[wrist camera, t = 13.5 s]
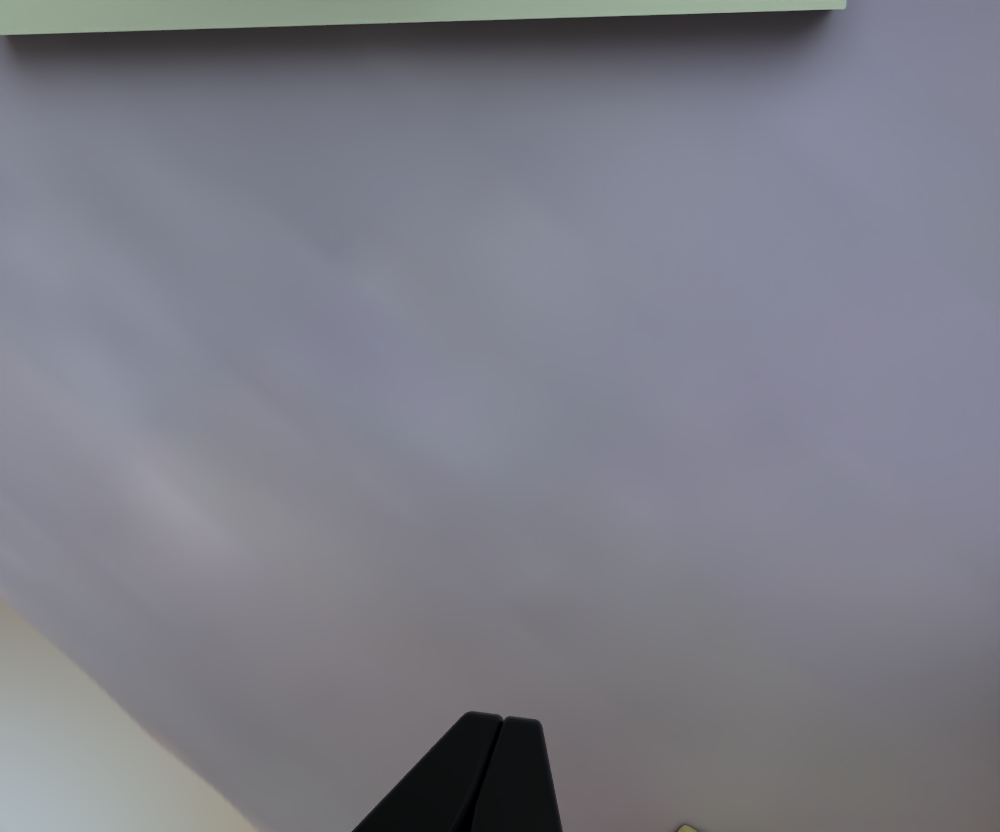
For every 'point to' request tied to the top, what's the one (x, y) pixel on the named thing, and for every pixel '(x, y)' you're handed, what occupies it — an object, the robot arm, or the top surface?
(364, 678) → the top surface
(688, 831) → the candy box
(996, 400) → the top surface
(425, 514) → the top surface
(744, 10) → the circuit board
